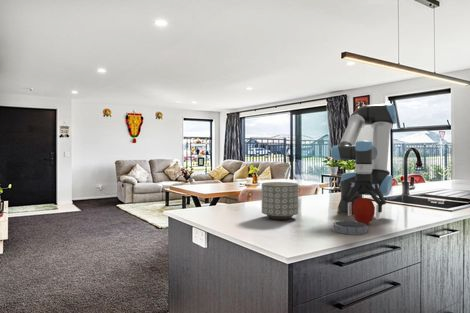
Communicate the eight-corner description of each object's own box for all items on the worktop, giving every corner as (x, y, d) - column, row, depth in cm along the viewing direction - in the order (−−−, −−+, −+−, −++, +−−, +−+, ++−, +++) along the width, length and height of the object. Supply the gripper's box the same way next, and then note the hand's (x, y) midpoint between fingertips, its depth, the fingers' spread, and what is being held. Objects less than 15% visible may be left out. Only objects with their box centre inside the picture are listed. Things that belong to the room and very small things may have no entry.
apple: (364, 227, 155) (364, 197, 155) (347, 223, 164) (347, 194, 164) (379, 224, 160) (379, 195, 160) (362, 221, 169) (362, 193, 169)
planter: (302, 216, 181) (302, 182, 181) (292, 223, 164) (292, 186, 164) (268, 213, 189) (268, 181, 189) (256, 220, 172) (256, 184, 172)
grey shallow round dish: (327, 231, 148) (327, 224, 148) (341, 225, 158) (341, 219, 158) (359, 236, 138) (359, 229, 138) (371, 230, 149) (371, 223, 149)
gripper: (335, 172, 167) (335, 215, 168) (388, 174, 151) (388, 222, 151) (342, 171, 173) (342, 213, 173) (393, 173, 156) (393, 219, 157)
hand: (363, 217), depth 162 cm, fingers open, 13 cm apart
